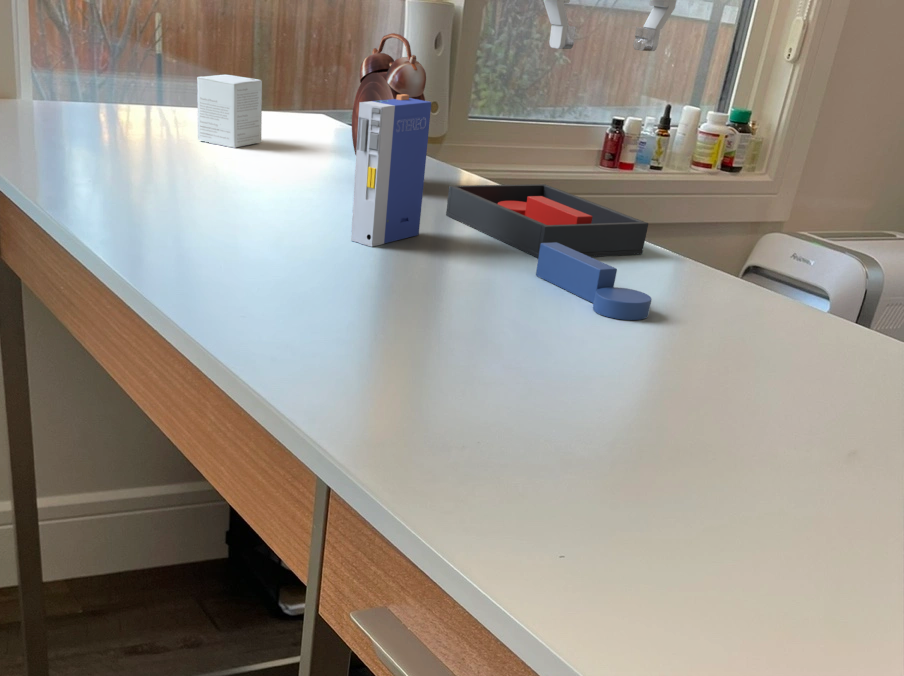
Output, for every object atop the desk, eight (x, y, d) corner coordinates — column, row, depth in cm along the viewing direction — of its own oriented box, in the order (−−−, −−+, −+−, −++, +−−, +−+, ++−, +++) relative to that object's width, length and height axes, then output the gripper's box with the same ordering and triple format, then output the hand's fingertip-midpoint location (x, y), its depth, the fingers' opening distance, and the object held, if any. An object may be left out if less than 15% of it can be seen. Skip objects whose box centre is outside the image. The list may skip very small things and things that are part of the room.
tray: (642, 254, 110) (648, 223, 109) (540, 259, 106) (545, 226, 104) (540, 212, 123) (545, 184, 122) (445, 215, 119) (449, 185, 117)
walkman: (396, 229, 111) (407, 93, 104) (419, 235, 110) (432, 97, 103) (348, 240, 106) (356, 97, 99) (371, 246, 105) (381, 102, 98)
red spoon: (598, 246, 110) (604, 215, 109) (560, 247, 108) (565, 216, 107) (523, 214, 120) (528, 185, 118) (487, 215, 118) (491, 186, 117)
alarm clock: (425, 193, 127) (440, 40, 119) (388, 194, 125) (401, 38, 116) (379, 173, 135) (390, 29, 126) (344, 174, 133) (352, 27, 124)
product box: (225, 136, 148) (225, 73, 144) (262, 143, 146) (263, 79, 142) (196, 141, 144) (195, 76, 140) (234, 148, 142) (235, 82, 137)
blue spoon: (522, 276, 100) (527, 243, 98) (564, 273, 102) (569, 241, 100) (614, 322, 90) (621, 286, 89) (659, 318, 92) (667, 283, 90)
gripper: (551, -153, 88) (526, 51, 96) (749, -131, 96) (711, 55, 104) (509, -151, 92) (488, 43, 100) (701, -131, 100) (668, 48, 108)
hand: (603, 49), depth 102 cm, fingers open, 8 cm apart
